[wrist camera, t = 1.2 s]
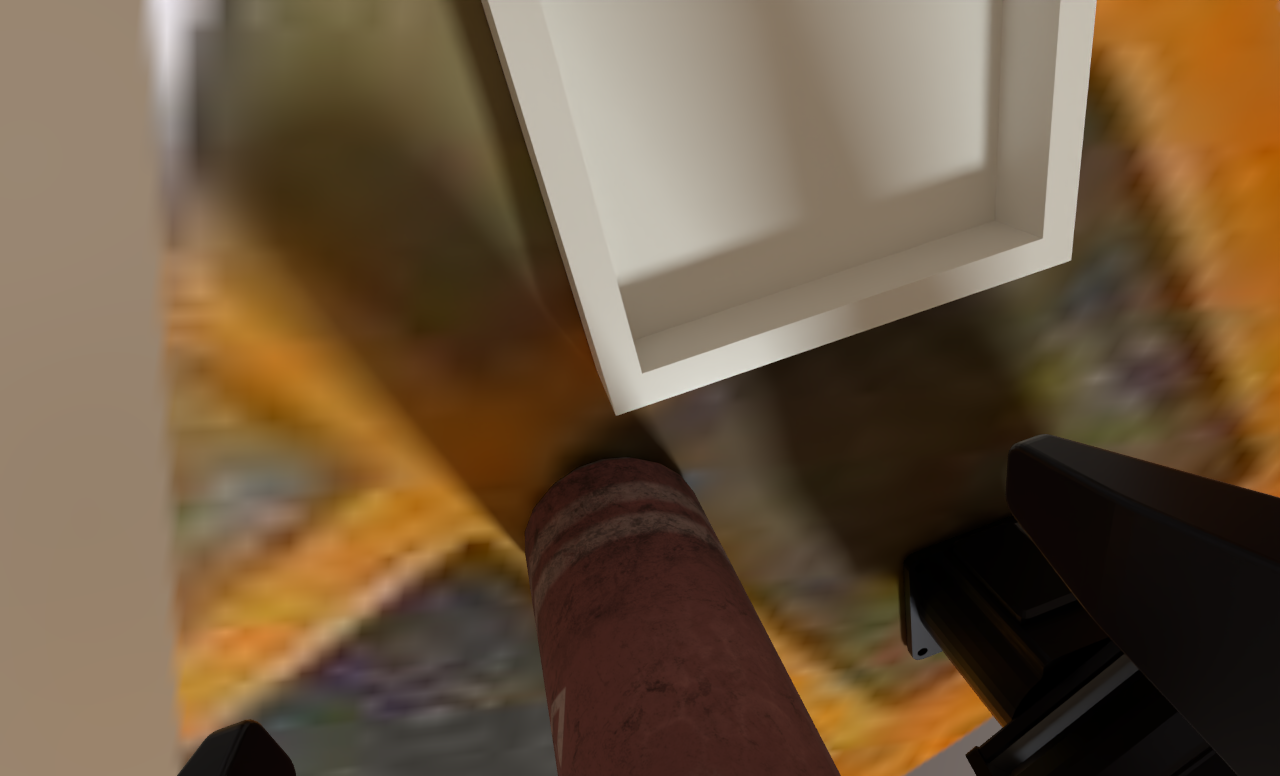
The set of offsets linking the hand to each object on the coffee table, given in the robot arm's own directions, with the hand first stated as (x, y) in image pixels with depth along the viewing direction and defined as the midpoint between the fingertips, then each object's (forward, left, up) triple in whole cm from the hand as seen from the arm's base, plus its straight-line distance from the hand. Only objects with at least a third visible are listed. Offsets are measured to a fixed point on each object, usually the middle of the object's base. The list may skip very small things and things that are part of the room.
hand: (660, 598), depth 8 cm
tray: (+3, -8, -13) cm, 15 cm away
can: (-10, 0, -13) cm, 17 cm away
